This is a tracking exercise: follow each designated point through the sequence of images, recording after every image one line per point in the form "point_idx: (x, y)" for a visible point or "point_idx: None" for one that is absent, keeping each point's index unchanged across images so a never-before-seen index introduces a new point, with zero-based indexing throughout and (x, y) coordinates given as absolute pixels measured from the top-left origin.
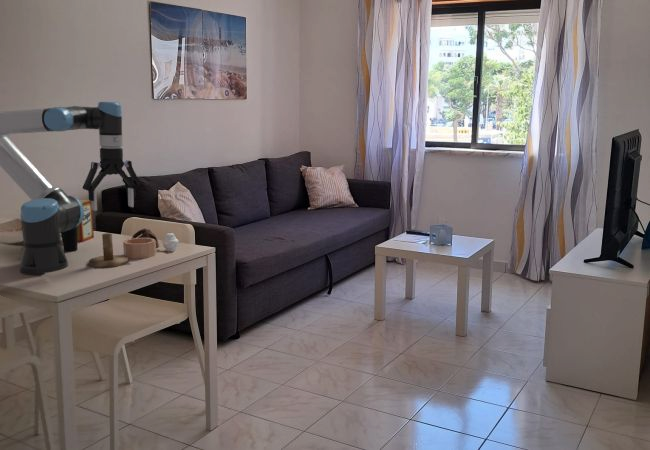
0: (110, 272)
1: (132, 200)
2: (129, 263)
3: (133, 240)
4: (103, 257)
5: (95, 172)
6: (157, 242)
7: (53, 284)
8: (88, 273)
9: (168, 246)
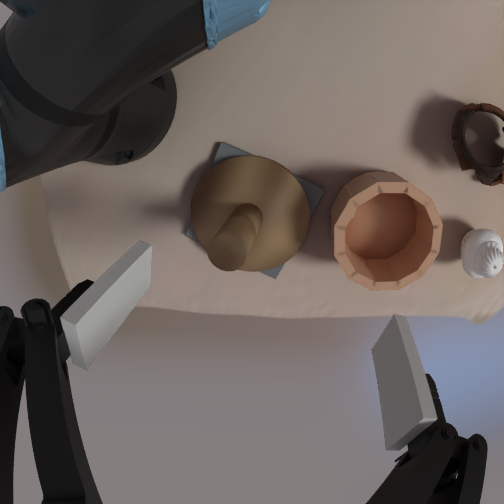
0: (204, 271)
1: (381, 381)
2: (279, 269)
3: (406, 193)
4: (257, 180)
5: (8, 490)
6: (498, 183)
7: (85, 240)
8: (165, 232)
9: (461, 258)
